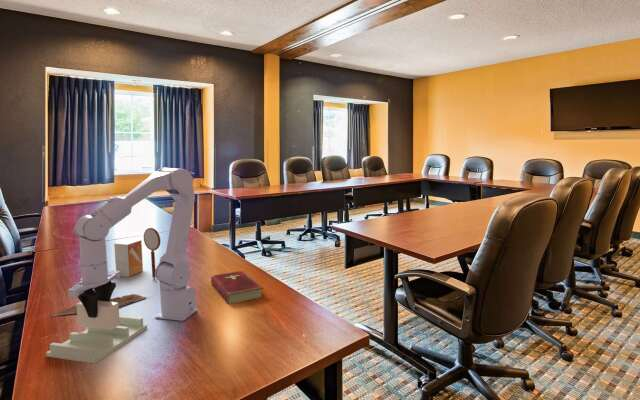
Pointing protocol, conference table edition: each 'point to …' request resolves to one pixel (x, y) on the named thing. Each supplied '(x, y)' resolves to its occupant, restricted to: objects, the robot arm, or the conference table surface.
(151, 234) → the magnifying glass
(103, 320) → the beige rectangular block
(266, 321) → the conference table surface
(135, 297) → the wooden fragment
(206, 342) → the conference table surface
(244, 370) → the conference table surface
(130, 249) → the small box
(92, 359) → the rack
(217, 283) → the hardcover book
